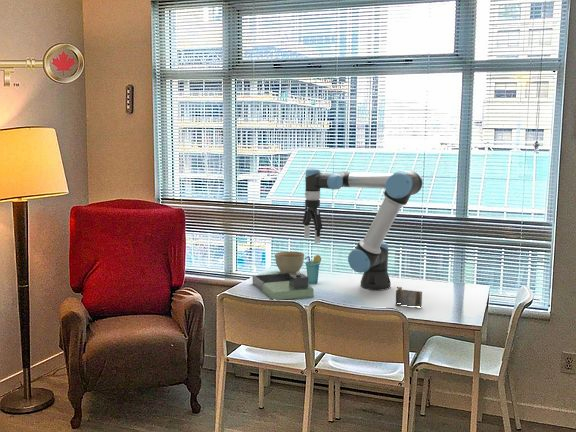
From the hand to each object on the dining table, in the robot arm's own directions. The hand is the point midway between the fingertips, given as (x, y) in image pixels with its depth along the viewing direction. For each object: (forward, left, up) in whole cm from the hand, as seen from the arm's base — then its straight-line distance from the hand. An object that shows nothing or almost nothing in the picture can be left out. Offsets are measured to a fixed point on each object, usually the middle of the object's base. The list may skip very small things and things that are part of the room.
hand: (312, 240), depth 331 cm
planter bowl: (+23, +3, -23) cm, 33 cm away
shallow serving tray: (-9, +19, -22) cm, 31 cm away
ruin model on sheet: (-54, -25, -23) cm, 64 cm away
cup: (0, 0, -23) cm, 23 cm away
